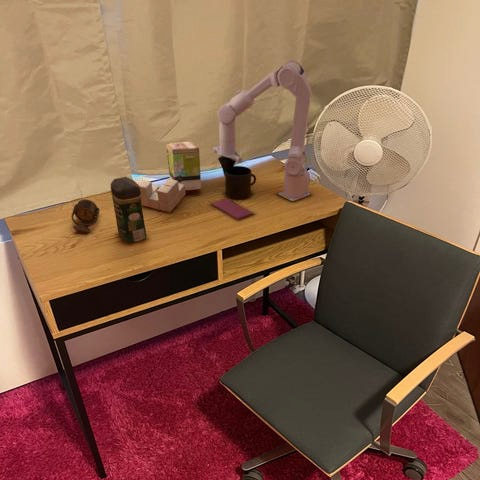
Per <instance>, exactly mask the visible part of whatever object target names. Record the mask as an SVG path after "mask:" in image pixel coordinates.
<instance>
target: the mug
mask: <svg viewBox="0 0 480 480" xmlns="http://www.w3.org/2000/svg"><path fill="white" fill-rule="evenodd" d="M224 177H225V178H224V179H225V180H224V183H225V191H224V192H225V196H226V197H227V198H229V199H231V200H244V199H248V198H249V197H250V196H251V195H252V186H254V185H255V184H256V182H257V177H256V175H255V174H254V173H252V169H251V168H249V167H247V166H243V165H234V166H232V167H229V168H227V169H226V171H225V176H224ZM252 177H253V181H252Z"/></svg>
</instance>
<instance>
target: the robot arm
mask: <svg viewBox="0 0 480 480" xmlns="http://www.w3.org/2000/svg"><path fill="white" fill-rule="evenodd" d="M280 86H281V87H282V88H283V89H284V90H287V91H289V92H290V93H291V94H292V96H294V97H295V104H294V111H293V121H292V128H291V138H290V139H291V140H290V145H289V150H288V154H287V159H286V160H285V162H284V165H283V168H284V174H283V186H282V191H279V192H278V193H277V195H278V196H280V197H282V198H284V199H286V200H288V201H290V202H295V201H298V200H300V199H303V198H305V197H309V196H310V195H311V193H310V192H309V191H310V185H311V184H310V182H311V175H310V172H309V171H308V170H307V169H306V168H304V165H305V164H306V161H307V155H306V145H305V144H306V136H307V130H308V121H309V116H310V109H311V101H312V94H313V93H312V87H311V84H310V82H309V79H308V76H307V74H306V70H305V68H304V67H303V66H302V65H301V64H300V62H298V61H296V60H289V61H287V62H286V63H285V64H284V65H281V66H279V67H277V68H276V69H274V70H272V71H271V72H270V73H269V74H267V75H266V76H265V77H263V78H262V79H261V80H260V81H259V82H257V83H256V84H255V85H254V86H253V87H251V88H250V89H242V90H241V89H239V90H238V91H236V95H234V96H233V97H232V98H231V99H227V100H226V101H225V103H224V104H223V105H222V106H220V107H219V109H218V110H217V111H216V118H217V120H218V123H219V128H218V130H219V131H218V134H219V146H218V145H216V146H213V151H212V152H213V153H215V154H217V156H218V158H217V160H218V163H219V164H220V166H221V168H222V173H223V176H224V177H225V171H226V169H227V168H229V167H232V166H235V164H241V163H243V156H241V155H240V154H239V153H238V152H237V151H236V118H237V117H238V116H240V115H241V114H243V113H244V112H246V111H247V110H248V109H250V107H252V106H253V105H254V101H255V99H256V98H258V97H259V96H260V95H262V94H263V93H264V92H266V91H267V90H269V89H270V88H273V87H274V88H279V87H280Z"/></svg>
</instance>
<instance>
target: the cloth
mask: <svg viewBox="0 0 480 480" xmlns="http://www.w3.org/2000/svg"><path fill="white" fill-rule="evenodd" d="M210 206H212V207H214V208H216V209H217V210H219V211H221V212H222V213H224V214H226V215H228V216H230V217H232V218H233V219H234V220H237V221H241V220H243V219H245V218H249V217H251V216H254V215H255V214H254V212H252V211H250V210H249V209H247V208H244V207H243V206H241V205H240V204H237V203H236V202H233V201H231V200H230V199H228V198H224V199H221V200H218V201H215V202H213V203H211V204H210Z"/></svg>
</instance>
